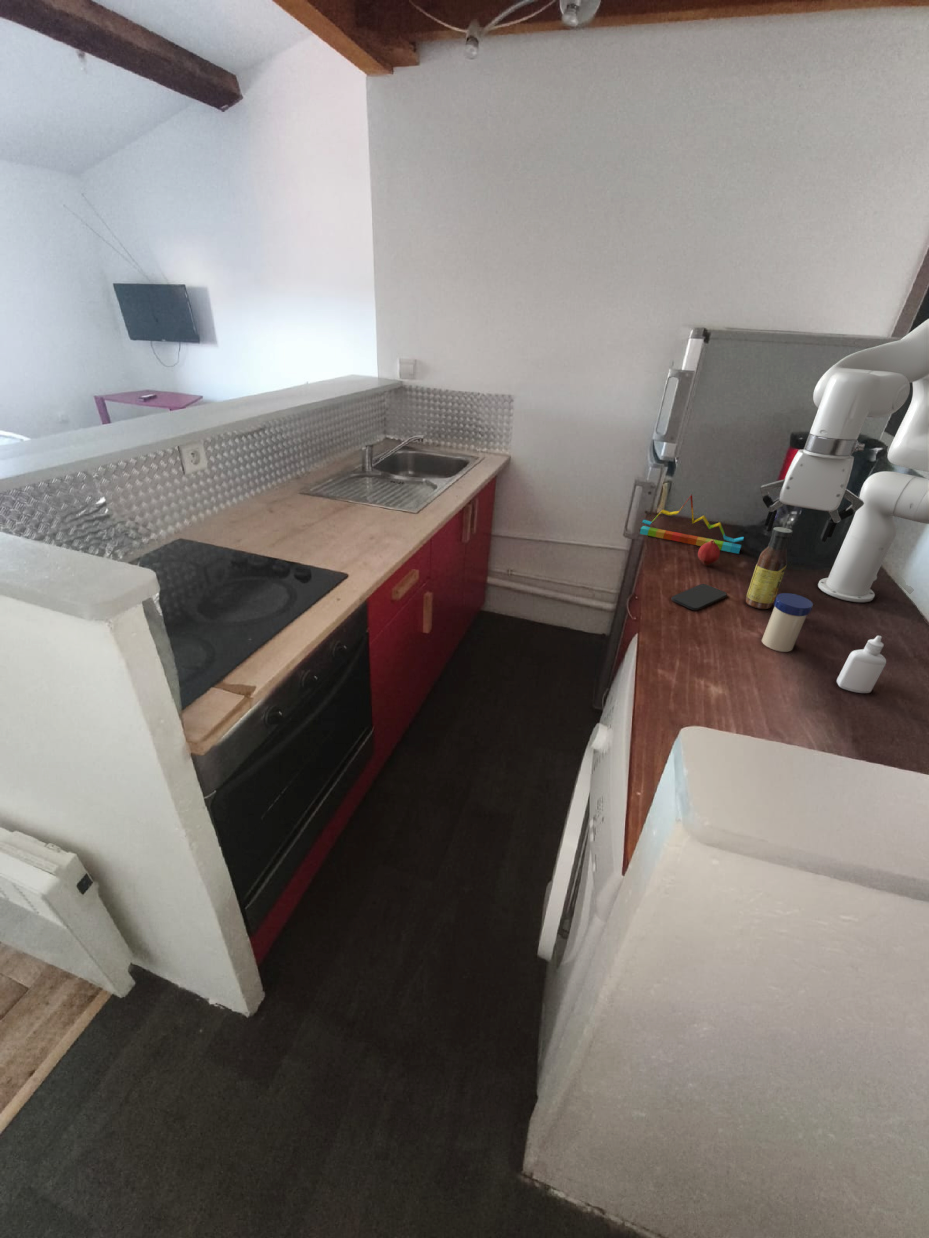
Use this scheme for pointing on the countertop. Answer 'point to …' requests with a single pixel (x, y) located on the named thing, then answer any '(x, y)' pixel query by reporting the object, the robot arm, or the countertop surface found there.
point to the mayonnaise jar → (782, 630)
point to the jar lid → (793, 604)
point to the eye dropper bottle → (863, 668)
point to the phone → (699, 597)
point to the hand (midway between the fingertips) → (795, 534)
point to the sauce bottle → (769, 570)
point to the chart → (689, 538)
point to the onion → (709, 552)
